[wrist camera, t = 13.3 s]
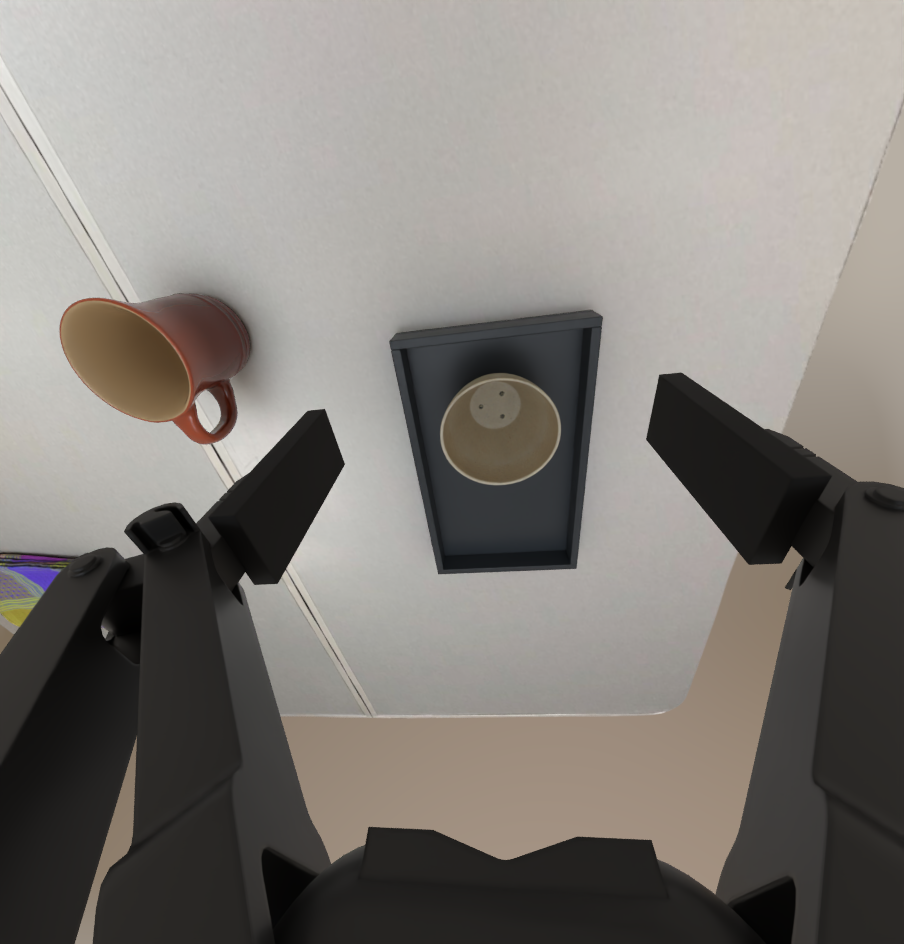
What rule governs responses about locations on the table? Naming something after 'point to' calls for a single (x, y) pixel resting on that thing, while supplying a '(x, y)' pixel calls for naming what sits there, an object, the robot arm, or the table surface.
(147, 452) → the table surface
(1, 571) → the dish towel
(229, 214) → the table surface
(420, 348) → the tray
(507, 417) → the flower pot
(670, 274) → the table surface
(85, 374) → the mug
